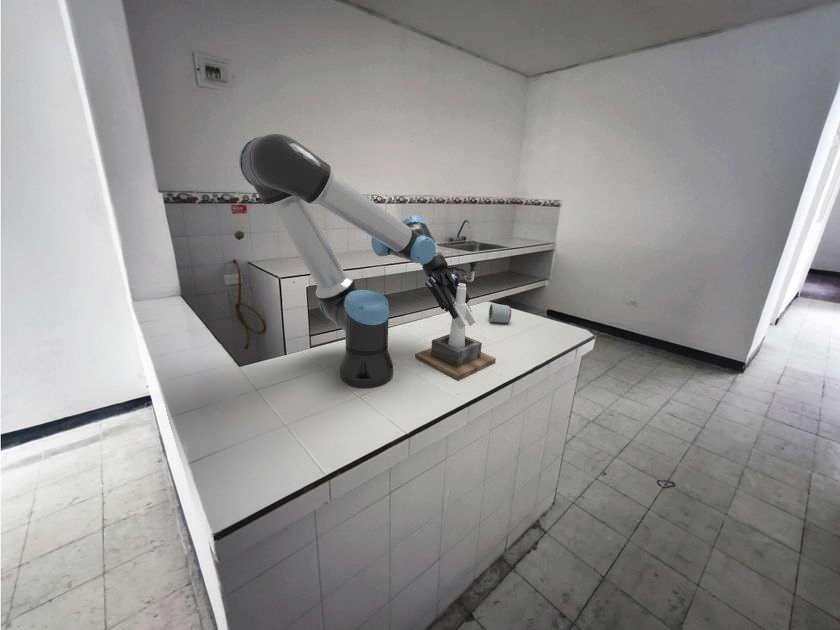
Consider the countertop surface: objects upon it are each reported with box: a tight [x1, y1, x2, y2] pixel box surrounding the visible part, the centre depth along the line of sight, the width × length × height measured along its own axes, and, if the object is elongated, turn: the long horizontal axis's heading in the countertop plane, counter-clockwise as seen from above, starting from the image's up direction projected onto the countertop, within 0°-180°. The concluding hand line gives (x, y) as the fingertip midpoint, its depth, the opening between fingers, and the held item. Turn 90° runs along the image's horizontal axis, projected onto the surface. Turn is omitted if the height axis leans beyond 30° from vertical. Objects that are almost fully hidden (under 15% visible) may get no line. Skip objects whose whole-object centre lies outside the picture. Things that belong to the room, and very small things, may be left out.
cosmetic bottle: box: [448, 282, 467, 349], centre depth 112 cm, size 6×6×22 cm
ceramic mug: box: [488, 303, 512, 324], centre depth 152 cm, size 11×8×8 cm
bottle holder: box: [414, 333, 497, 381], centre depth 115 cm, size 18×18×6 cm
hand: (468, 325), depth 109 cm, fingers open, 4 cm apart
